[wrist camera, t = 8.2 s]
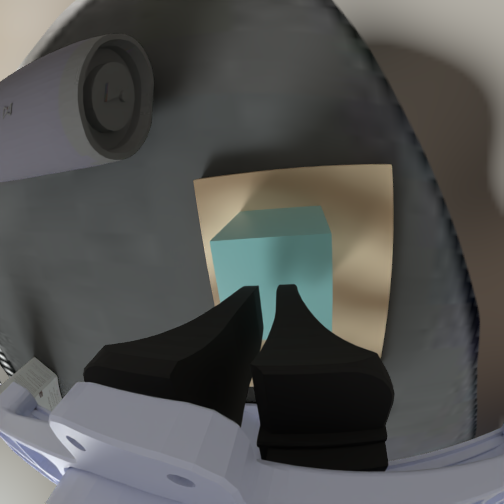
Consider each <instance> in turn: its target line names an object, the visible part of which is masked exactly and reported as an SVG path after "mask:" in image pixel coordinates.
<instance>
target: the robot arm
mask: <svg viewBox="0 0 504 504" xmlns="http://www.w3.org/2000/svg"><path fill="white" fill-rule="evenodd" d="M263 330H264V325H263V317H262V309H261V300H260V292H259V285H258V286H243V287H241V288H240V289H238V290H237V291H236V292H234V293H233V294H232V295H230V296H229V297H228V298H226V299H225V300H224V301H222V302H221V303H219V304H218V305H217V306H215V307H213V308H212V309H210V310H209V311H207V312H206V313H204V314H203V315H201V316H199V317H197V318H196V319H194V320H192V321H190V322H188V323H186V324H184V325H182V326H179V327H177V328H174V329H172V330H169V331H166V332H164V333H161V334H158V335H155V336H151V337H148V338H144V339H140V340H135V341H131V342H125V343H118V344H111V345H105V346H104V347H103V348H102V349H101V350H100V351H99V352H98V353H97V355H96V356H95V357H94V358H93V359H92V360H91V361H90V362H89V364H88V365H87V366H86V367H85V368H84V373H83V376H84V381H85V382H77V383H76V384H75V385H74V386H73V387H72V388H71V390H70V391H69V392H68V393H67V394H66V395H65V397H64V398H63V399H62V400H61V401H60V402H59V404H58V405H57V406H56V407H55V408H54V410H53V411H52V412H51V411H49V410H47V409H45V408H44V407H42V406H40V405H38V404H37V401H36V400H35V398H34V397H33V395H32V394H31V393H30V392H29V391H28V390H27V389H26V388H25V387H23V386H21V385H19V384H17V383H16V382H12V383H11V384H10V385H9V386H8V387H7V388H6V389H5V390H4V391H3V392H2V393H1V394H0V437H1V438H2V439H3V440H4V442H5V443H6V444H7V445H8V446H9V447H10V448H11V449H12V450H13V451H14V452H15V453H16V454H17V455H18V456H19V457H20V458H22V459H23V460H24V461H26V462H27V463H28V464H29V465H30V466H32V467H33V468H34V469H36V470H37V471H38V472H40V473H41V474H42V475H43V476H45V477H46V478H48V479H49V480H50V481H52V482H54V483H55V484H56V485H57V486H56V488H55V489H54V491H53V492H52V494H51V495H50V497H49V498H48V500H47V501H46V503H45V504H504V423H503V425H502V427H501V428H499V429H497V430H494V431H492V432H490V433H487V434H484V435H482V436H479V437H477V438H474V439H471V440H469V441H466V442H463V443H460V444H457V445H454V446H451V447H447V448H444V449H440V450H437V451H433V452H430V453H426V454H422V455H417V456H413V457H408V458H404V459H399V460H393V461H388V458H387V452H386V445H385V441H386V440H387V432H386V426H385V425H386V422H387V419H388V417H389V414H390V411H391V408H392V405H393V401H394V390H393V385H392V382H391V379H390V376H389V374H388V372H387V370H386V368H385V366H384V364H383V362H382V361H381V359H380V357H379V355H378V354H377V353H376V352H373V351H370V350H367V349H364V348H362V347H359V346H356V345H354V344H352V343H350V342H348V341H346V340H344V339H342V338H340V337H339V336H337V335H335V334H334V333H332V332H331V331H330V330H328V329H327V328H326V327H325V326H323V325H322V324H321V323H320V322H319V321H318V320H317V319H316V318H315V316H314V315H313V314H312V313H311V312H310V310H309V309H308V308H307V306H306V305H305V303H304V301H303V300H302V298H301V296H300V294H299V292H298V289H297V286H296V285H295V284H283V285H279V286H278V287H277V290H276V312H275V318H274V321H273V324H272V327H271V330H270V332H269V335H268V337H267V340H266V341H265V343H264V345H263V347H262V349H261V344H262V337H263ZM260 349H261V351H260ZM251 379H252V380H253V386H254V391H255V397H256V403H257V404H252V403H245V402H246V397H247V393H248V389H249V385H250V382H251ZM261 459H262V460H261Z"/></svg>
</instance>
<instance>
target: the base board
mask: <svg viewBox="0 0 504 504" xmlns="http://www.w3.org/2000/svg"><path fill="white" fill-rule="evenodd" d="M193 181H194V188H195V194H196V201H197V208H198V214H199V220H200V226H201V232H202V238H203V244H204V250H205V256H206V261H207V267H208V272H209V278H210V283H211V288H212V293H213V299H214V304H215V306H217V305H218V304H219V303H220V298H219V293H218V287H217V282H216V276H215V271H214V265H213V259H212V253H211V247H210V240H211V239H212V238H213V237H214V236H215V235H216V234H218V233H219V232H220V231H221V230H222V229H223V228H224V227H225V226H226V225H227V224H228V223H229V222H230V221H231V220H232V219H233V218H234V217H235V216H236V215H237V214H238V213H239V212H240V211H252V210H264V209H277V208H291V207H305V206H321V207H322V210H323V213H324V215H325V218H326V220H327V223H328V225H329V228H330V231H331V233H332V271H333V303H332V333H334V334H335V335H337V336H339V337H340V338H342V339H344V340H346V341H348V342H350V343H352V344H354V345H356V346H359V347H362V348H364V349H367V350H370V351H373V352H376V353H377V354H378V355H379V357H380V359H381V353H382V347H383V341H384V335H385V328H386V321H387V313H388V304H389V295H390V284H391V271H392V254H393V176H392V165H390V164H354V165H330V166H313V167H298V168H286V169H274V170H264V171H254V172H245V173H237V174H229V175H221V176H213V177H206V178H200V179H196V180H193ZM265 341H266V340H262V344H261V349H262V347H263V345H264V343H265ZM261 349H260V351H261ZM249 386H250V387H254V386H253V380H252V379H251V382H250V385H249Z"/></svg>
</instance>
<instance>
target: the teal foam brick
mask: <svg viewBox="0 0 504 504" xmlns="http://www.w3.org/2000/svg"><path fill="white" fill-rule="evenodd" d="M210 247H211V253H212V259H213V265H214V271H215V276H216V282H217V287H218V293H219V298H220V303H221V302H222V301H224V300H225V299H226V298H228V297H229V296H230V295H232V294H233V293H234V292H236V291H237V290H238V289H240V288H241V287H243V286H258V285H259V292H260V300H261V309H262V317H263V325H264V330H263V337H262V340H267V337H268V335H269V332H270V330H271V327H272V324H273V321H274V318H275V312H276V290H277V287H278V286H279V285H283V284H295V285H296V286H297V289H298V292H299V294H300V296H301V298H302V300H303V301H304V303H305V305H306V306H307V308H308V309H309V310H310V312H311V313H312V314H313V315H314V316H315V318H316V319H317V320H318V321H319V322H320V323H321V324H322V325H323V326H325V327H326V328H327V329H328V330H330V331H331V332H332V303H333V271H332V233H331V231H330V228H329V225H328V223H327V220H326V218H325V215H324V213H323V210H322V207H321V206H305V207H291V208H277V209H264V210H252V211H240V212H239V213H238V214H237V215H236V216H235V217H234V218H233V219H232V220H231V221H230V222H229V223H228V224H227V225H226V226H225V227H224V228H223V229H222V230H221V231H220V232H219V233H218V234H216V235H215V236H214V237H213V238H212V239H211V240H210Z"/></svg>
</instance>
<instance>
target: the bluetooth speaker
mask: <svg viewBox="0 0 504 504" xmlns="http://www.w3.org/2000/svg"><path fill="white" fill-rule="evenodd" d="M153 92H154V77H153V71H152V67H151V64H150V61H149V58H148V56H147V54H146V52H145V50H144V49H143V47H142V46H141V45H140V43H139V42H138V41H137V40H136V39H134V38H133V37H131V36H129V35H125V34H119V33H113V34H106V35H102V36H97V37H93V38H89V39H86V40H82V41H79V42H76V43H73V44H71V45H68V46H66V47H63V48H61V49H59V50H56V51H54V52H52V53H50V54H47V55H45V56H43V57H41V58H39V59H37V60H35V61H33V62H32V63H30V64H28V65H26V66H24V67H22V68H21V69H19V70H17V71H16V72H14V73H13V74H11V75H9V76H8V77H7V78H5V79H4V80H2V81H1V82H0V182H5V181H12V180H19V179H25V178H30V177H36V176H42V175H47V174H53V173H59V172H64V171H70V170H76V169H82V168H88V167H93V166H99V165H103V164H107V163H112V162H115V161H119V160H123V159H126V158H129V157H131V156H132V155H134V154H135V153H136V152H137V151H138V150H139V149H140V147H141V146H142V145H143V143H144V142H145V140H146V138H147V136H148V133H149V131H150V127H151V123H152V107H153Z"/></svg>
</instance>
